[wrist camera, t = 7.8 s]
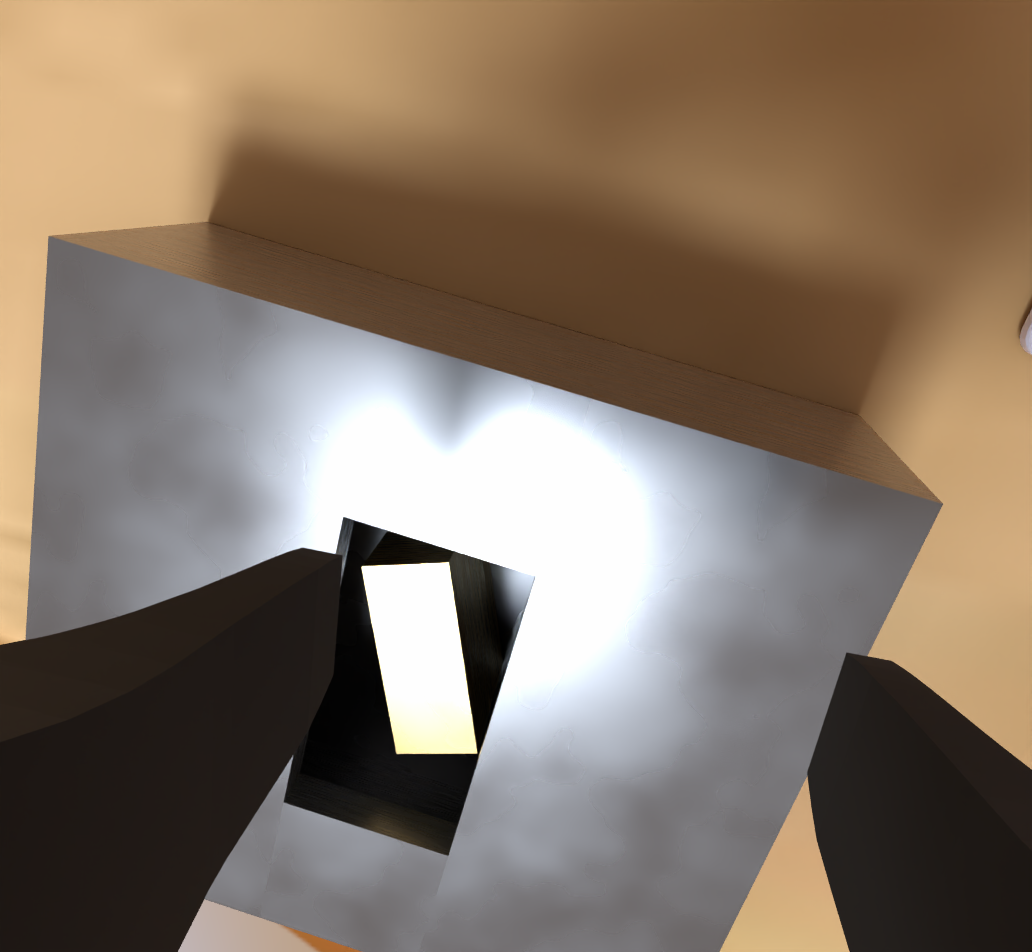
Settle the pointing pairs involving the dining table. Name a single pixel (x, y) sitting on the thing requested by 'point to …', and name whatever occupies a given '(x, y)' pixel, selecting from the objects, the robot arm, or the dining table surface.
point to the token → (434, 643)
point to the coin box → (514, 569)
